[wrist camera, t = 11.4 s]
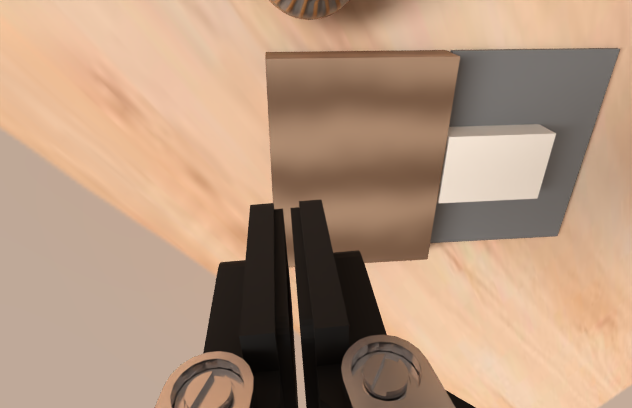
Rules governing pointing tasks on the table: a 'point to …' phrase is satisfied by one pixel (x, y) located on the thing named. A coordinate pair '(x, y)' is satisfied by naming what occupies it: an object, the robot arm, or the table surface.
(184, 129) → the table surface
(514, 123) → the charcoal mat
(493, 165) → the ivory tile
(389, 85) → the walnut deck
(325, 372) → the robot arm
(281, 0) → the vase
